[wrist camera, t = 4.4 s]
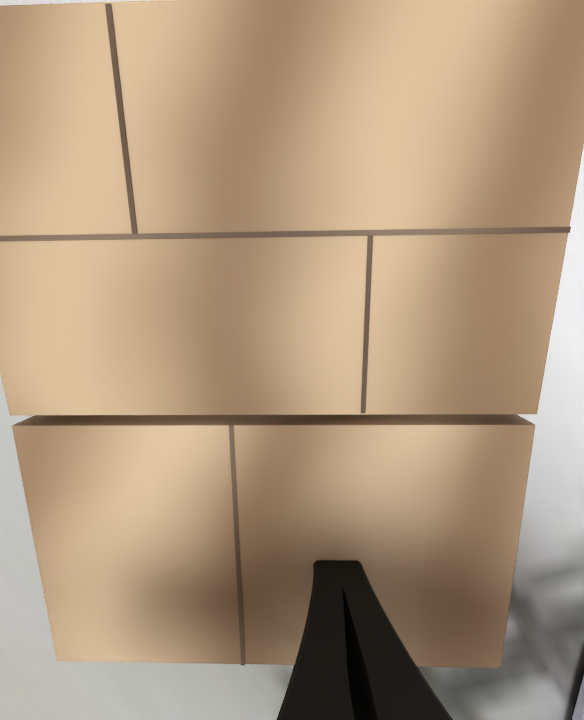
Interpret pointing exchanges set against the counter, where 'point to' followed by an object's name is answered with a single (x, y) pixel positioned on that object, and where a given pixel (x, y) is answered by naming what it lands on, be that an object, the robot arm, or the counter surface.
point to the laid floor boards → (285, 204)
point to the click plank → (272, 529)
